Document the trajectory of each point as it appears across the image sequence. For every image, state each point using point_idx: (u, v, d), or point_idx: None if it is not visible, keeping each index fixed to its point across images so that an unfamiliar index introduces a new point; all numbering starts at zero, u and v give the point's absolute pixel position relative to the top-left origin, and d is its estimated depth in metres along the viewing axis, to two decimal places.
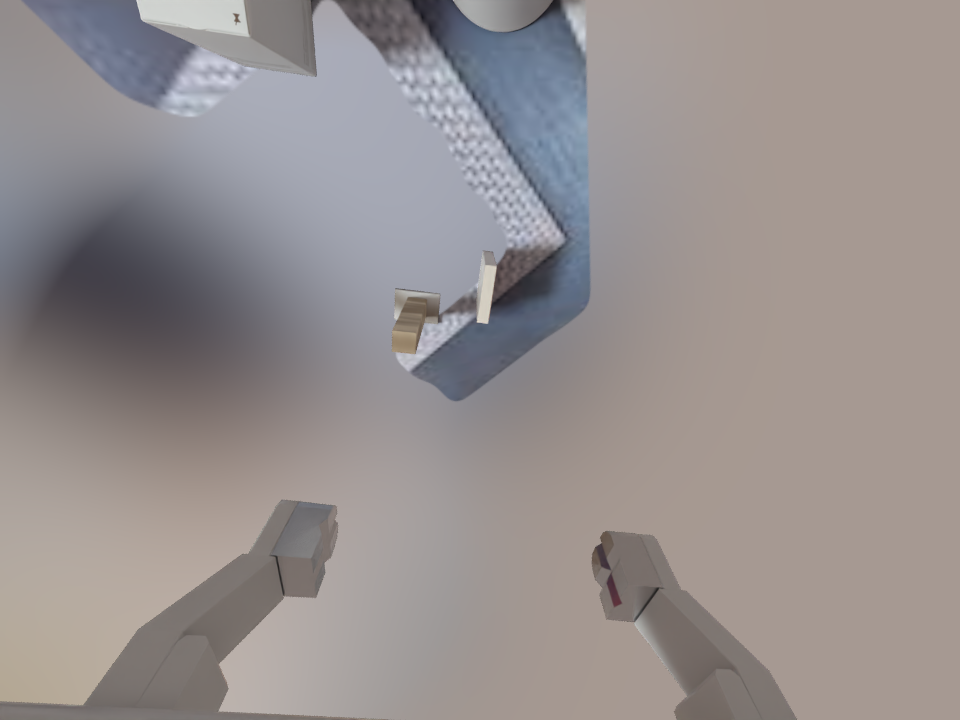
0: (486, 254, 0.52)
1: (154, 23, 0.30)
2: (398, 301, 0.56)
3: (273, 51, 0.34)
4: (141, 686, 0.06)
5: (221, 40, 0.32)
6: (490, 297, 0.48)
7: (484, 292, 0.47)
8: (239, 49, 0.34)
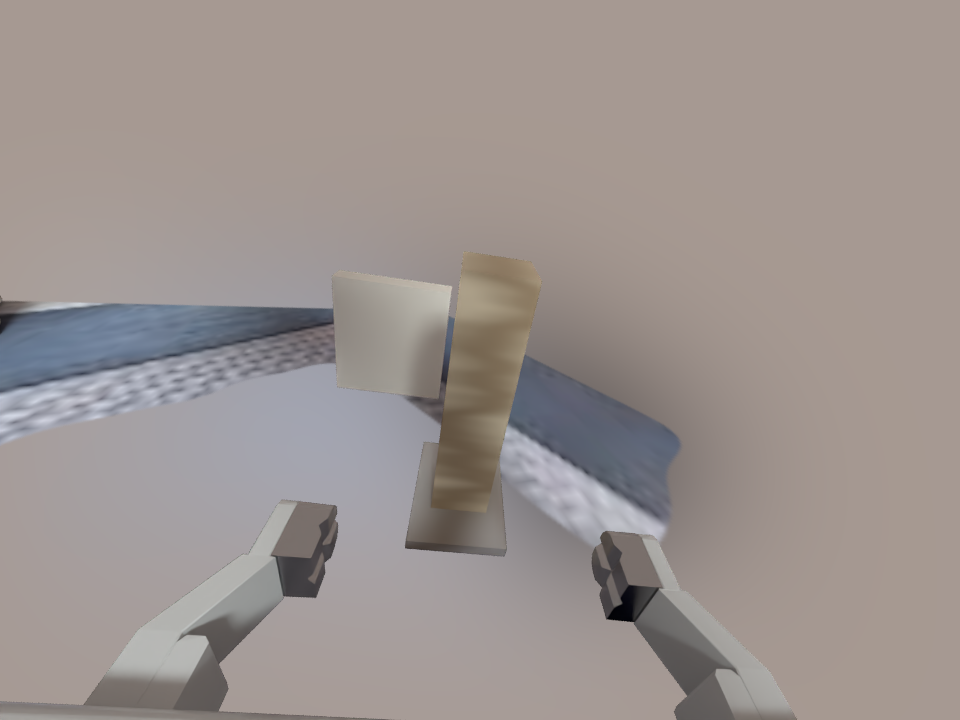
0: None
1: None
2: (445, 533, 0.18)
3: None
4: (141, 686, 0.06)
5: None
6: (398, 279, 0.25)
7: (388, 281, 0.24)
8: None
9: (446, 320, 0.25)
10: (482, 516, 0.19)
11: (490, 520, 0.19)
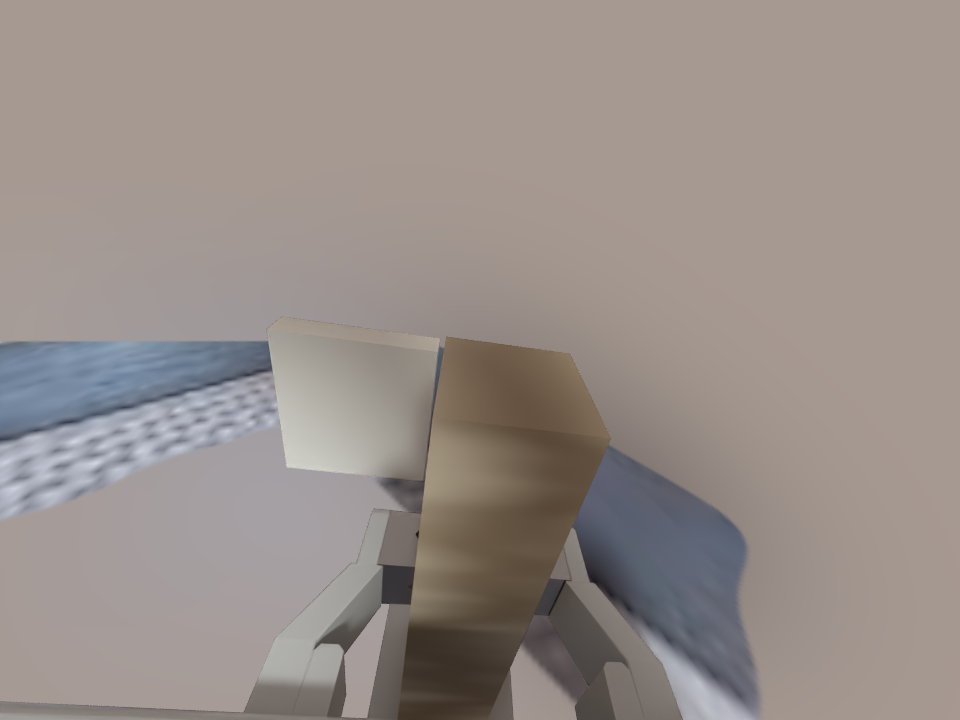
0: None
1: None
2: None
3: None
4: (292, 694, 0.06)
5: None
6: (365, 329, 0.18)
7: (348, 335, 0.17)
8: None
9: (431, 386, 0.18)
10: None
11: None
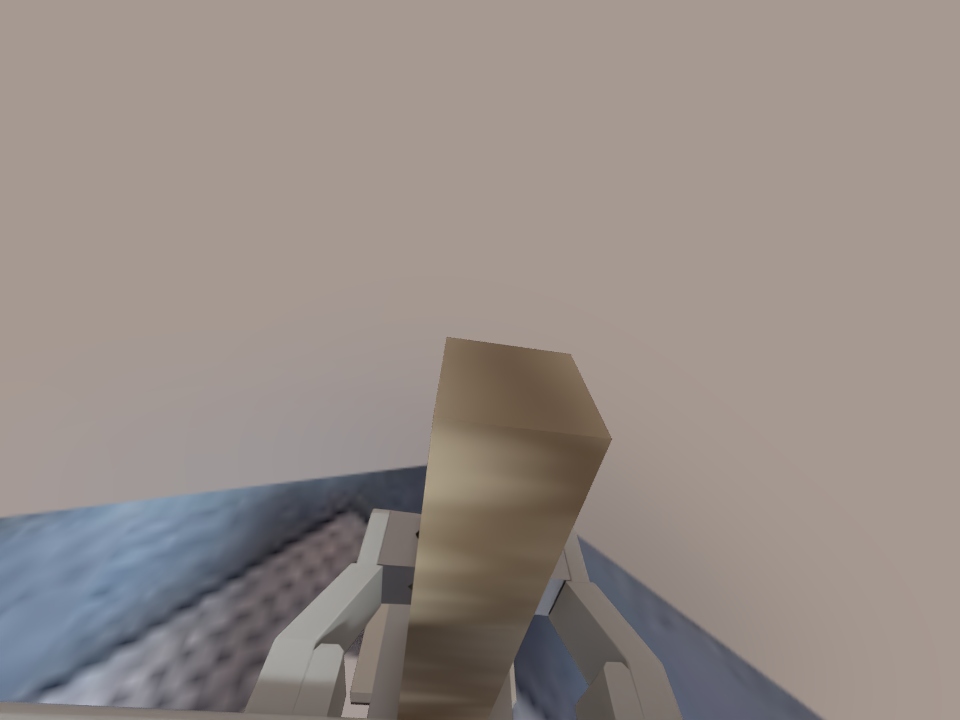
0: None
1: None
2: None
3: None
4: (292, 694, 0.06)
5: None
6: None
7: None
8: None
9: None
10: None
11: None
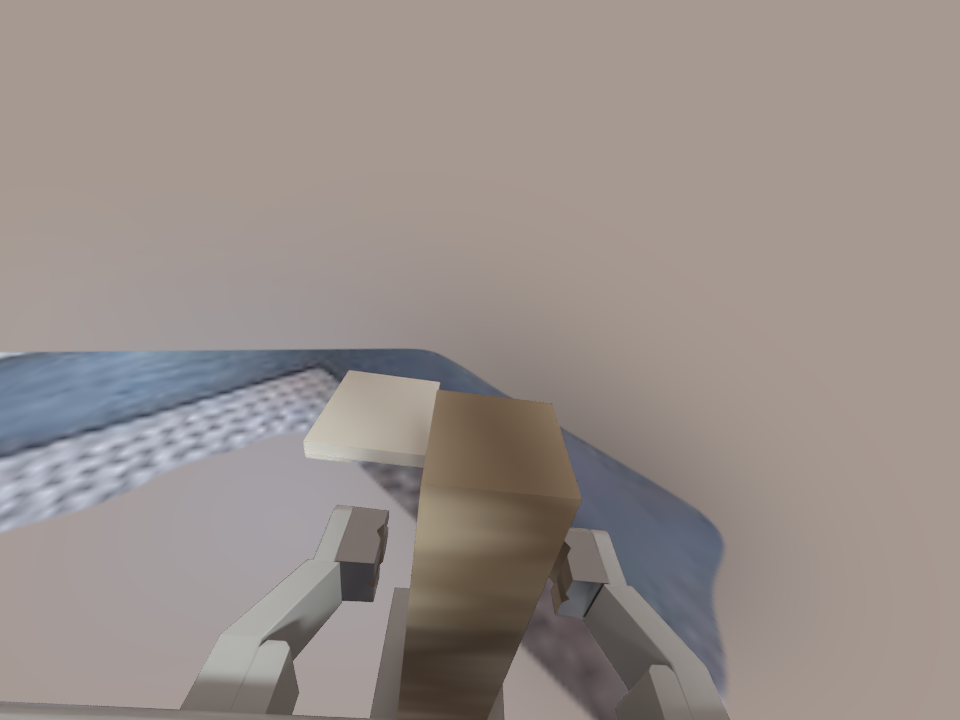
0: None
1: None
2: None
3: None
4: (232, 690, 0.06)
5: None
6: None
7: None
8: None
9: None
10: None
11: None
